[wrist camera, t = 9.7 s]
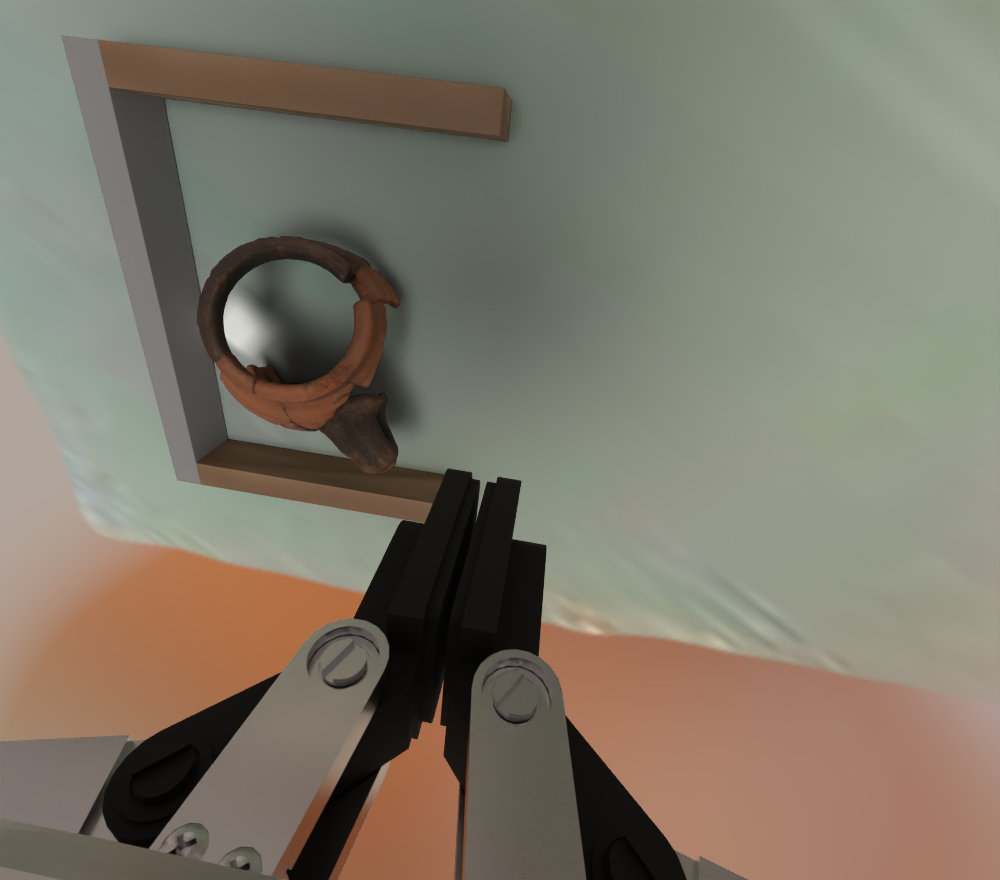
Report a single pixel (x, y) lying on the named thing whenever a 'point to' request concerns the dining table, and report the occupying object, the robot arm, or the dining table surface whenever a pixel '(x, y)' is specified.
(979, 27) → the dining table surface
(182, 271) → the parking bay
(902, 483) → the dining table surface
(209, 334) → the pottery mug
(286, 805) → the robot arm
